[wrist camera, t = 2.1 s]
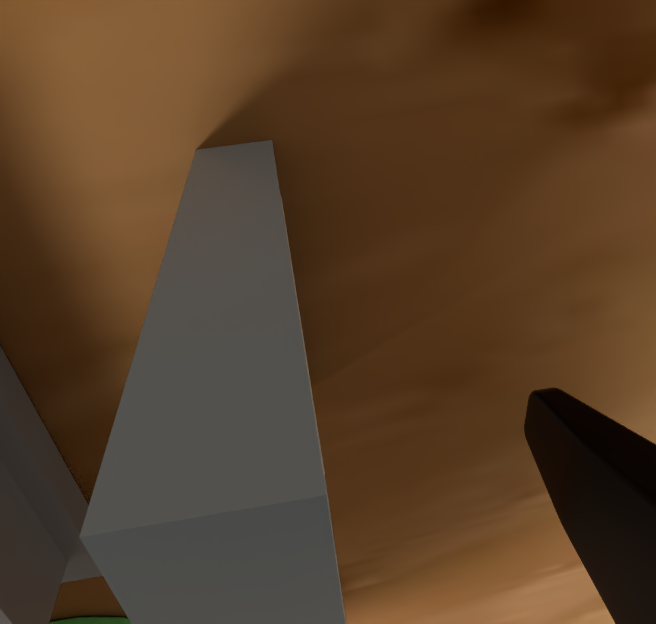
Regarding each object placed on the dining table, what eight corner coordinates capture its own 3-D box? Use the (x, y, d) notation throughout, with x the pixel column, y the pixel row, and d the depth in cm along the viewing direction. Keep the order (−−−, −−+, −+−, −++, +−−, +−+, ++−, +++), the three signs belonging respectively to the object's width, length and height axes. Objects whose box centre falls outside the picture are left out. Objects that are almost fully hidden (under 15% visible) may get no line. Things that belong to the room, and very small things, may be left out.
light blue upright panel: (309, 387, 15) (373, 811, 7) (252, 397, 15) (257, 836, 7) (273, 140, 11) (329, 494, 3) (195, 149, 11) (76, 537, 3)
